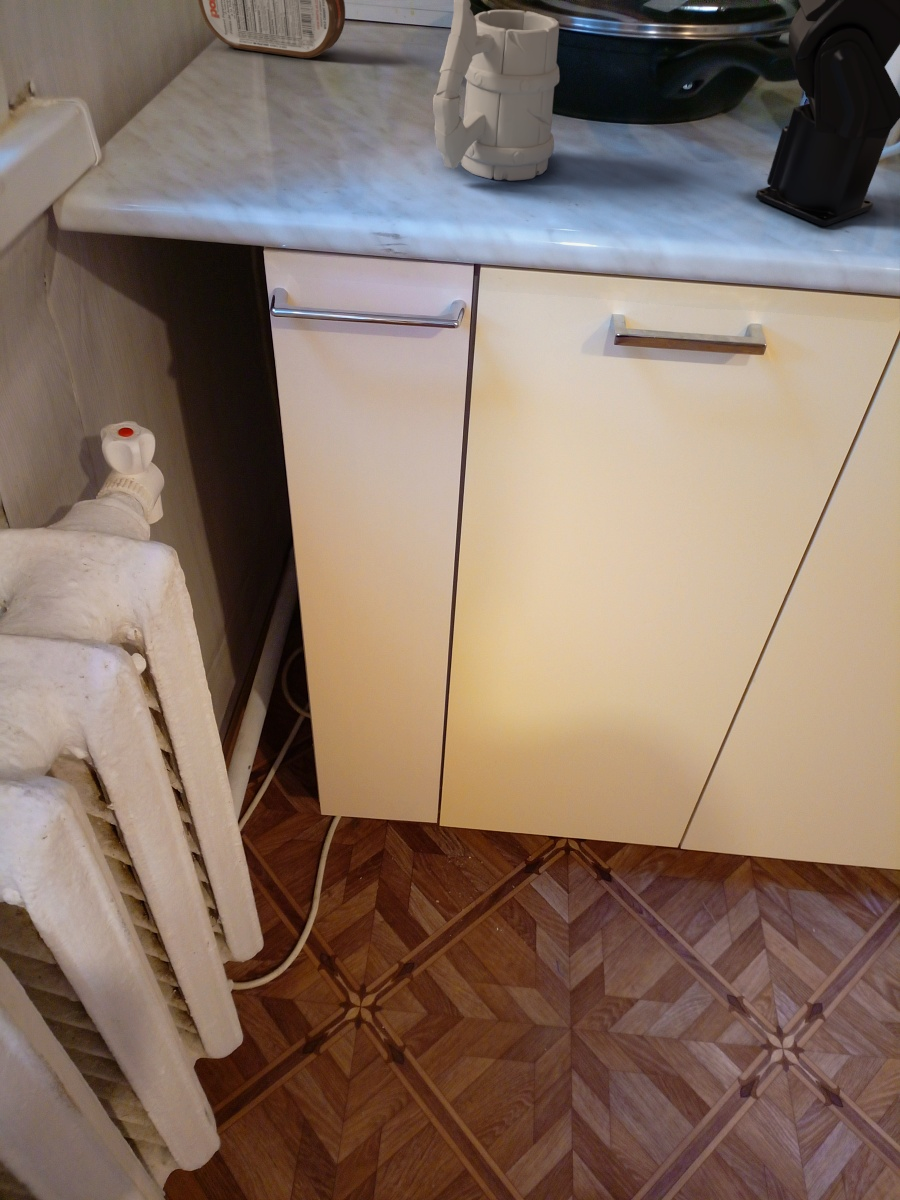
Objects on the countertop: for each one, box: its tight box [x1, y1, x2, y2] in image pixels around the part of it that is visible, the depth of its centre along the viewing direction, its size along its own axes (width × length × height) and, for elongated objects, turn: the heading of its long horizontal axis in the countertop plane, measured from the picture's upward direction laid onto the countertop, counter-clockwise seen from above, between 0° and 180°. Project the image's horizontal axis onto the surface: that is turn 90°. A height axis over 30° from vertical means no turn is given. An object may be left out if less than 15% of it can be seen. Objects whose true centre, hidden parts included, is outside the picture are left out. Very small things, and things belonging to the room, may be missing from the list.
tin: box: [197, 0, 346, 59], centre depth 85 cm, size 15×3×8 cm, turn 74°
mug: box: [432, 0, 560, 181], centre depth 64 cm, size 8×12×12 cm, turn 137°
